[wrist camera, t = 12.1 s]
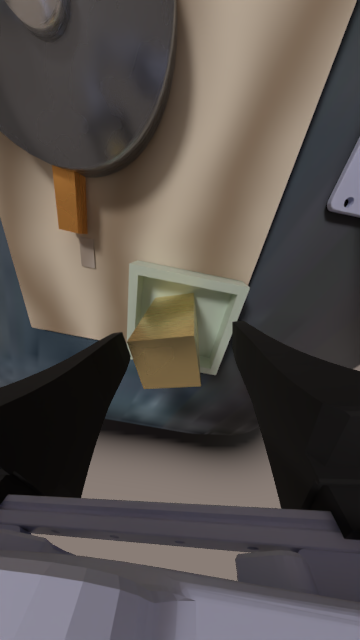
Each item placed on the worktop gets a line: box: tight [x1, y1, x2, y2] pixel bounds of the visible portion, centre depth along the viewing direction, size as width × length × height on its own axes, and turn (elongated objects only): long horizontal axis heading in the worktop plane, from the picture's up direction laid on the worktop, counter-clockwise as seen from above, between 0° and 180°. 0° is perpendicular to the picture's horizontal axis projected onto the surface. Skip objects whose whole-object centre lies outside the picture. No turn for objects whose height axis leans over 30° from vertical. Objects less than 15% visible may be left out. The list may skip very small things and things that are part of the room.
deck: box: [0, 0, 357, 344], centre depth 11 cm, size 18×22×1 cm
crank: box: [0, 0, 177, 234], centre depth 6 cm, size 13×12×4 cm
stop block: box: [127, 293, 201, 389], centre depth 10 cm, size 3×3×6 cm
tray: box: [127, 260, 250, 375], centre depth 13 cm, size 8×8×2 cm
